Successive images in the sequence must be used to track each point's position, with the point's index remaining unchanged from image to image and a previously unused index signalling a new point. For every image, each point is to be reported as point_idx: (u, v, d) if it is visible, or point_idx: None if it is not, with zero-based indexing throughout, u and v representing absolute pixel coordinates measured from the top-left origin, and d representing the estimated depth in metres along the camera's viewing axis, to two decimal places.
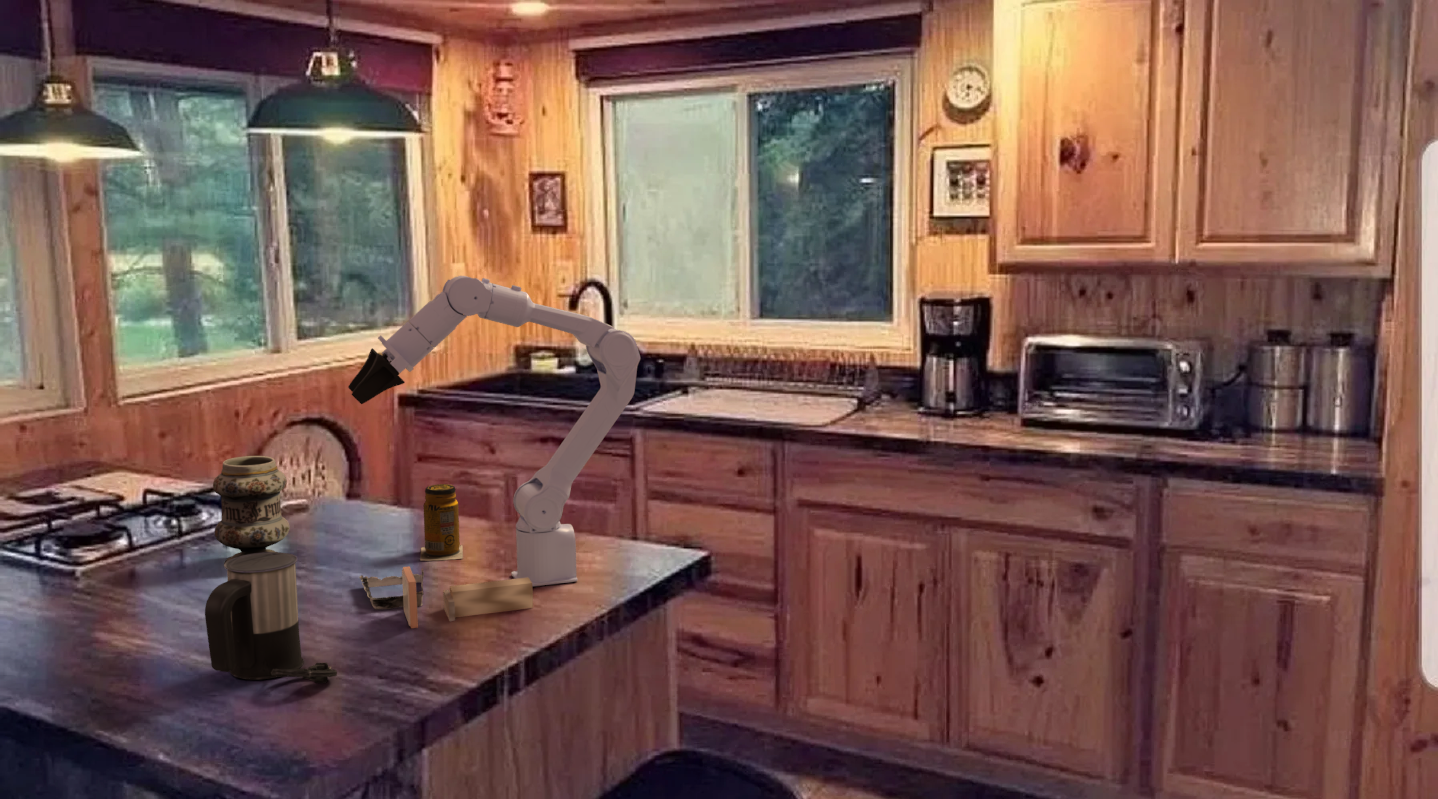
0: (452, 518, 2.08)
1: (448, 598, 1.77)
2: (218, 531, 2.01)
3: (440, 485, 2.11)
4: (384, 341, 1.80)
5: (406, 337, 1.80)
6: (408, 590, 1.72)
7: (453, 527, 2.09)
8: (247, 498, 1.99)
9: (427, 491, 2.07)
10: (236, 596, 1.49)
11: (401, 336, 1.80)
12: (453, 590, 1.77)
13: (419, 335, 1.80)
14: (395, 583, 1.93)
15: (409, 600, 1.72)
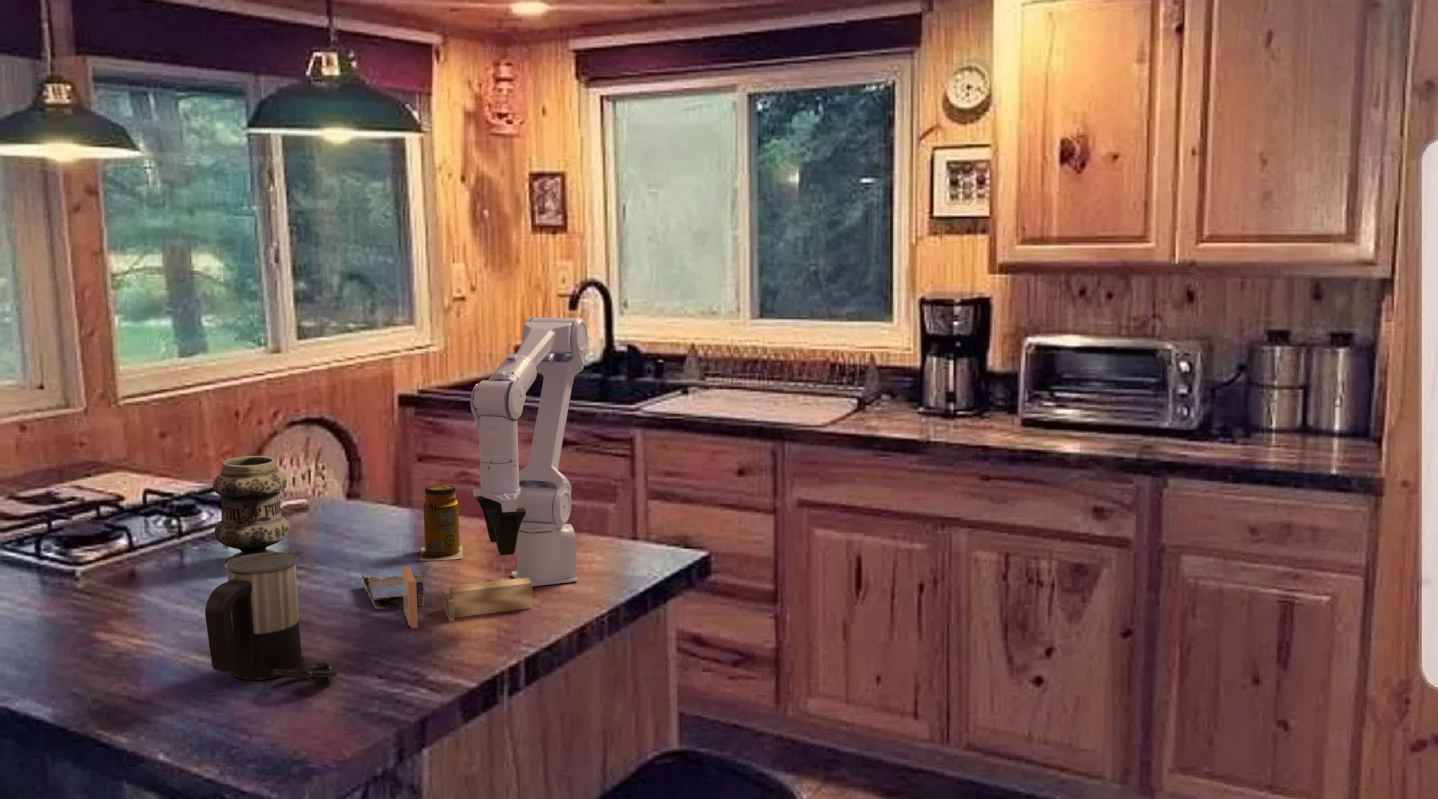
0: (452, 518, 2.08)
1: (448, 598, 1.77)
2: (218, 531, 2.01)
3: (440, 485, 2.11)
4: (480, 493, 1.76)
5: (492, 476, 1.75)
6: (408, 590, 1.72)
7: (453, 527, 2.09)
8: (247, 498, 1.99)
9: (427, 491, 2.07)
10: (236, 596, 1.49)
11: (487, 478, 1.76)
12: (453, 590, 1.77)
13: (499, 465, 1.75)
14: (396, 583, 1.93)
15: (409, 600, 1.72)
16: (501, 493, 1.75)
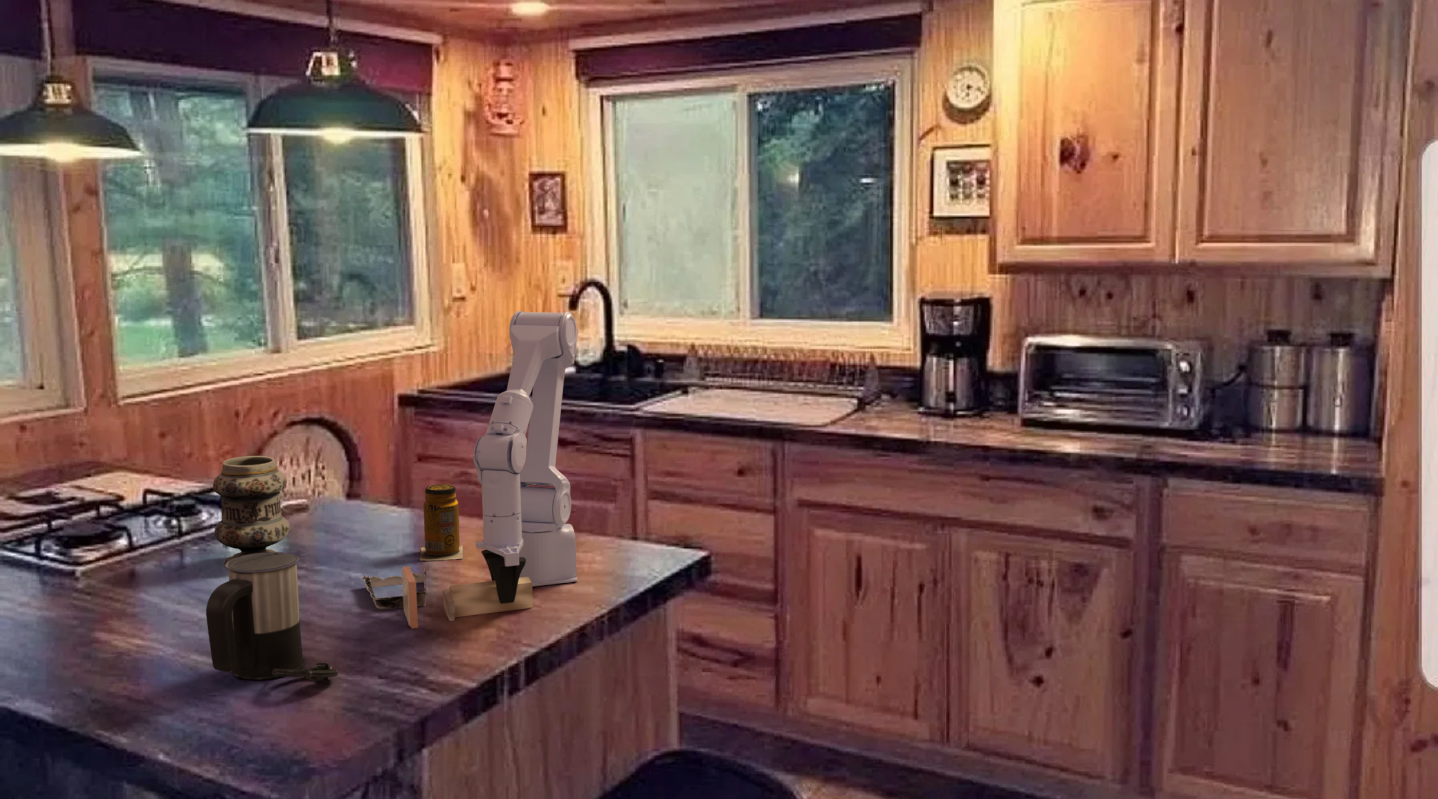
0: (452, 518, 2.08)
1: (448, 597, 1.77)
2: (218, 531, 2.01)
3: (440, 485, 2.11)
4: (483, 546, 1.78)
5: (494, 529, 1.77)
6: (408, 590, 1.72)
7: (453, 527, 2.09)
8: (247, 498, 1.99)
9: (427, 491, 2.07)
10: (237, 596, 1.49)
11: (490, 531, 1.77)
12: (453, 589, 1.77)
13: (502, 519, 1.76)
14: (397, 583, 1.93)
15: (409, 600, 1.72)
16: (504, 546, 1.77)
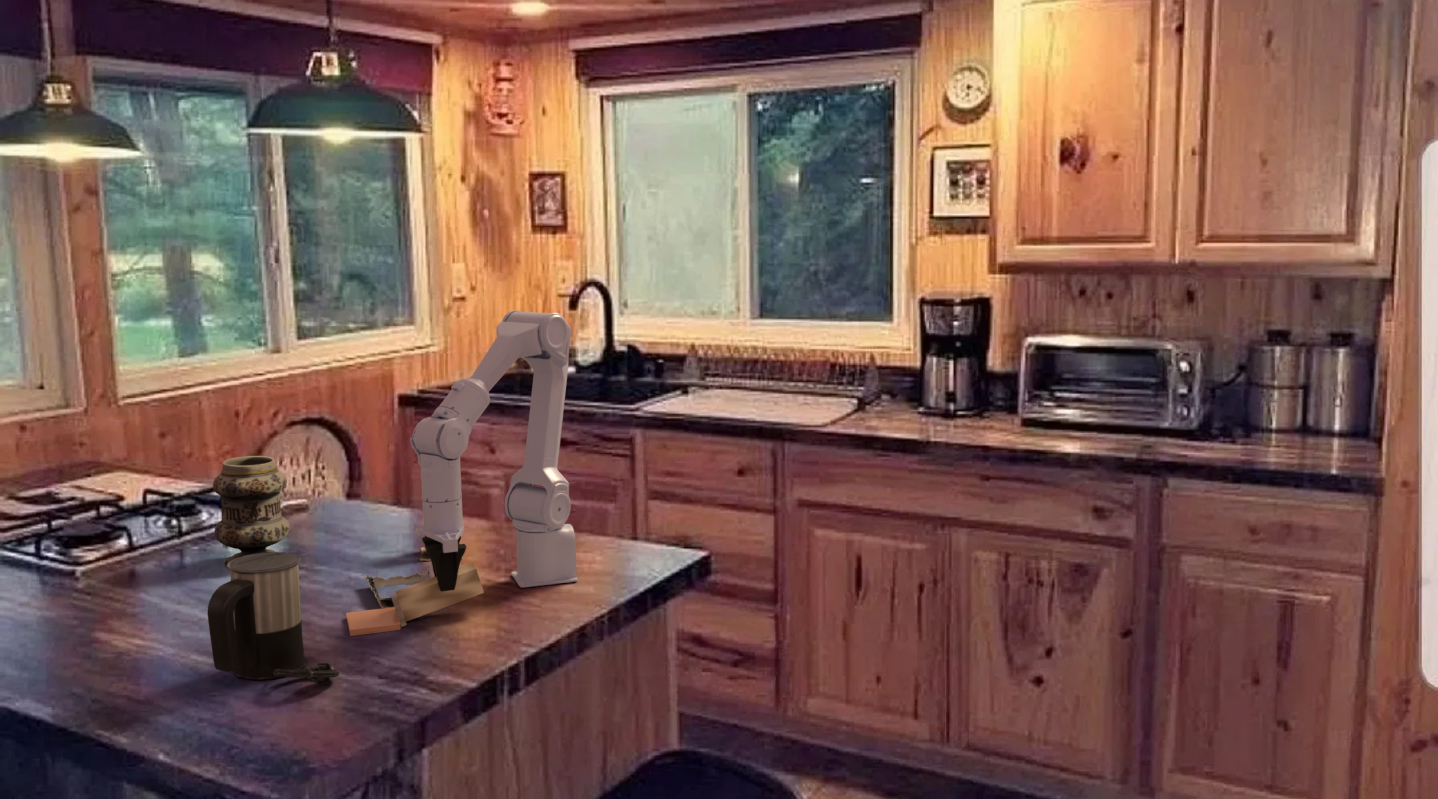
0: None
1: (395, 604, 1.74)
2: (218, 531, 2.01)
3: None
4: (422, 532, 1.74)
5: (433, 515, 1.73)
6: None
7: None
8: (247, 498, 1.99)
9: None
10: (239, 596, 1.50)
11: (429, 517, 1.73)
12: (398, 595, 1.74)
13: (441, 504, 1.73)
14: (401, 583, 1.93)
15: None
16: (443, 532, 1.73)
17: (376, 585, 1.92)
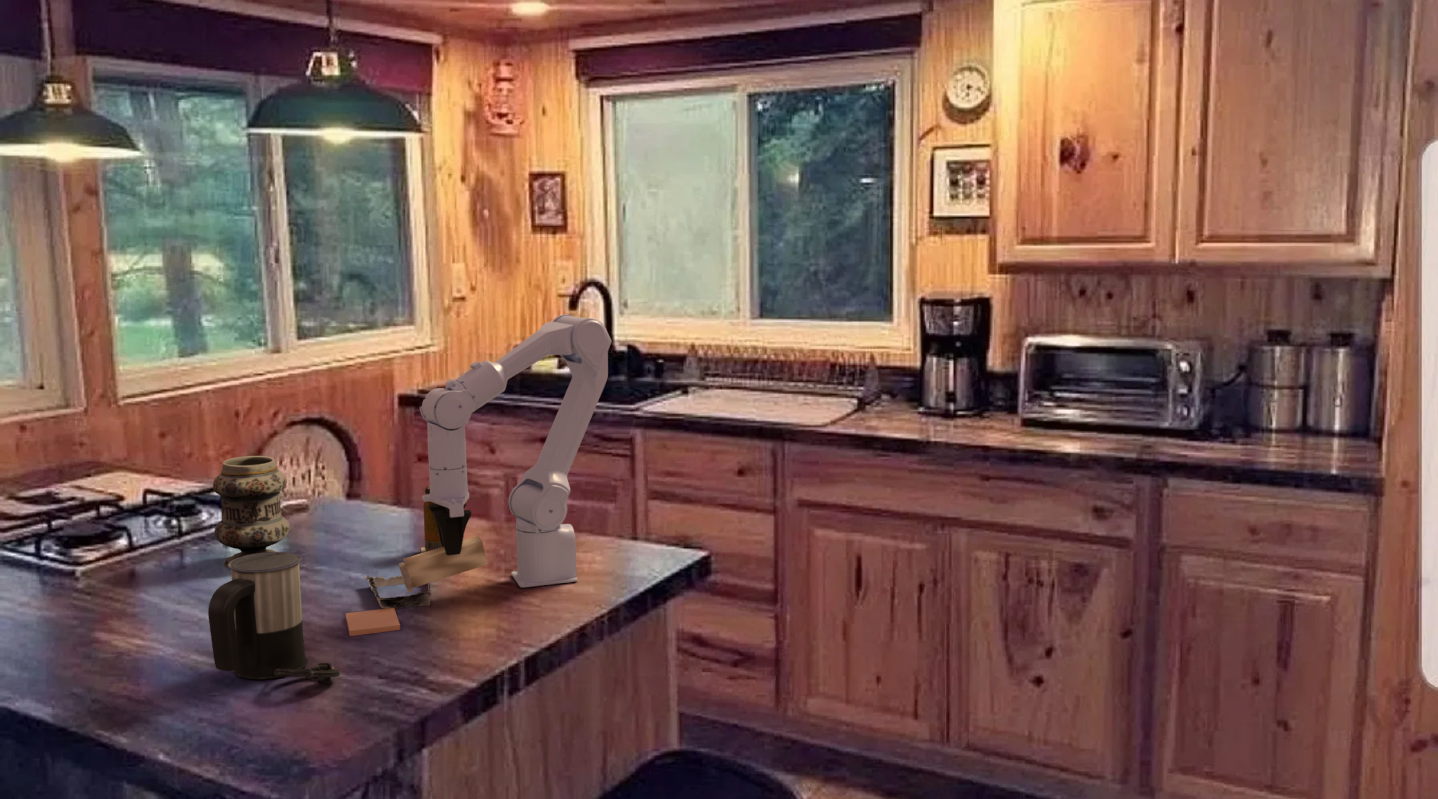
0: None
1: (403, 570, 1.82)
2: (218, 531, 2.01)
3: None
4: (429, 499, 1.82)
5: (440, 482, 1.81)
6: None
7: None
8: (247, 498, 1.99)
9: (427, 491, 2.07)
10: (239, 596, 1.50)
11: (436, 484, 1.81)
12: (406, 562, 1.82)
13: (447, 472, 1.81)
14: (401, 583, 1.93)
15: None
16: (449, 498, 1.81)
17: (376, 585, 1.92)
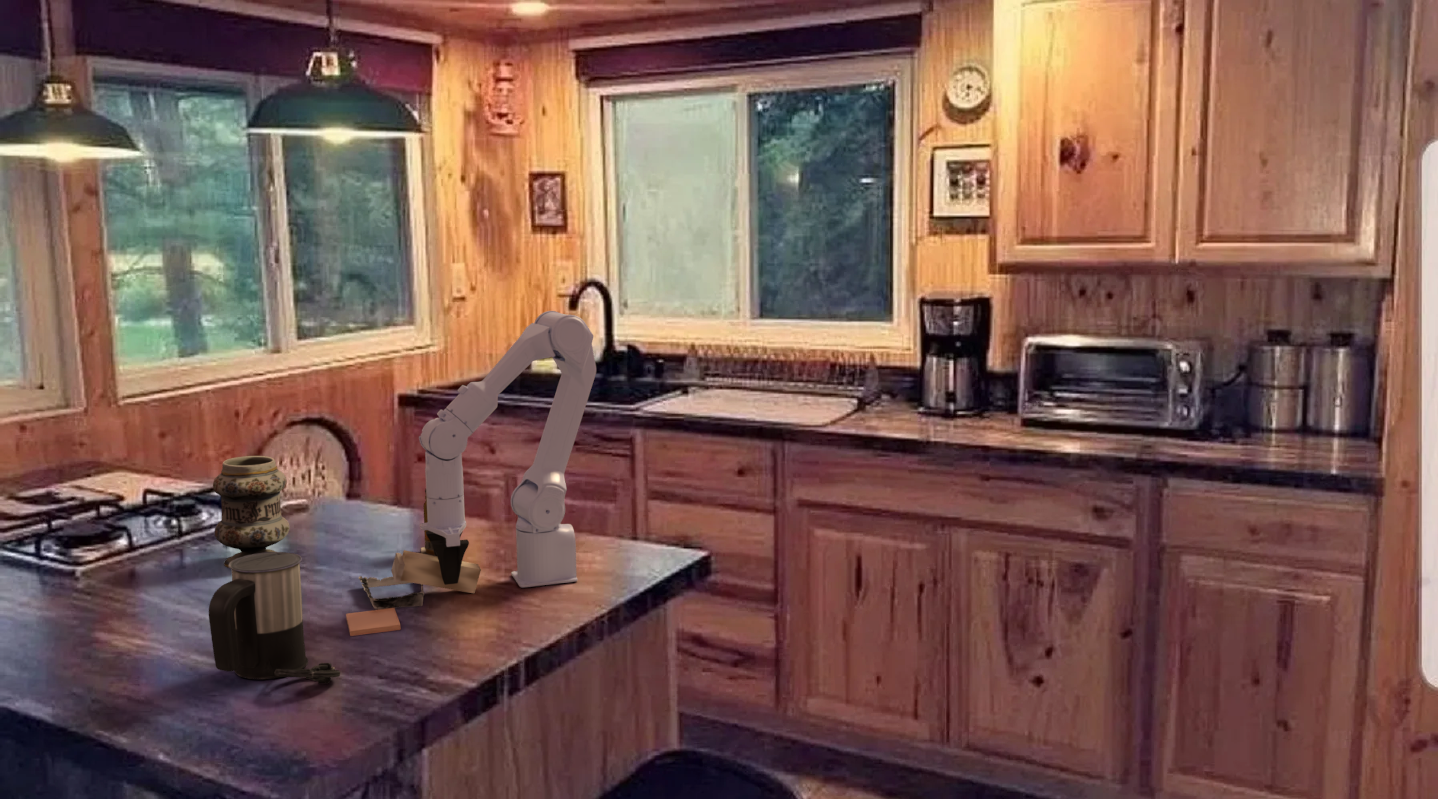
0: None
1: (399, 560, 1.83)
2: (218, 531, 2.01)
3: None
4: (426, 527, 1.84)
5: (437, 511, 1.83)
6: None
7: None
8: (247, 498, 1.99)
9: None
10: (240, 596, 1.50)
11: (433, 513, 1.83)
12: (406, 554, 1.84)
13: (444, 501, 1.83)
14: (394, 584, 1.93)
15: None
16: (446, 527, 1.83)
17: (369, 586, 1.92)
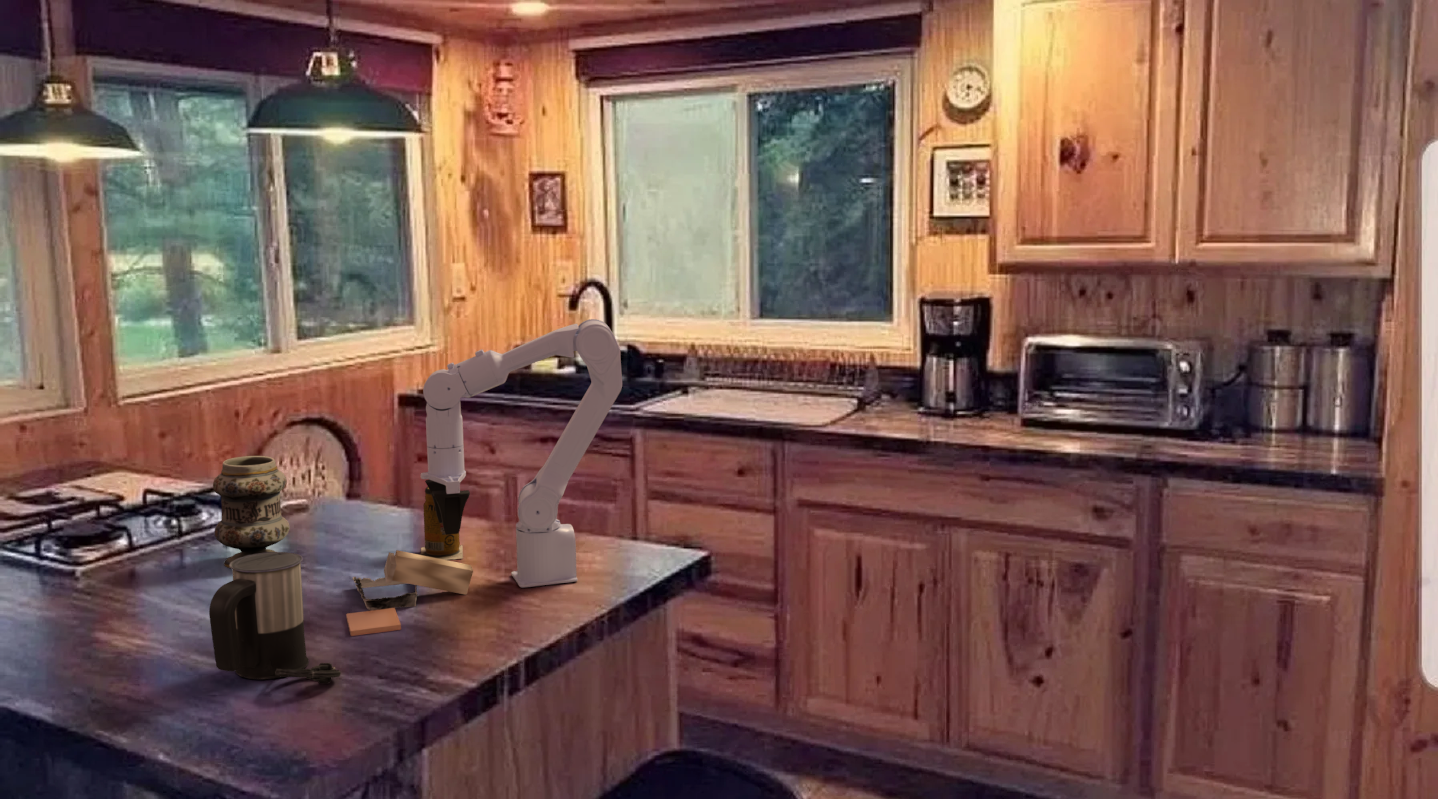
0: None
1: (391, 560, 1.83)
2: (218, 531, 2.01)
3: None
4: (427, 476, 1.88)
5: (437, 460, 1.87)
6: None
7: None
8: (247, 498, 1.99)
9: (427, 491, 2.07)
10: (240, 596, 1.50)
11: (433, 462, 1.87)
12: (398, 554, 1.84)
13: (444, 450, 1.87)
14: (388, 584, 1.93)
15: None
16: (446, 476, 1.87)
17: (363, 586, 1.91)
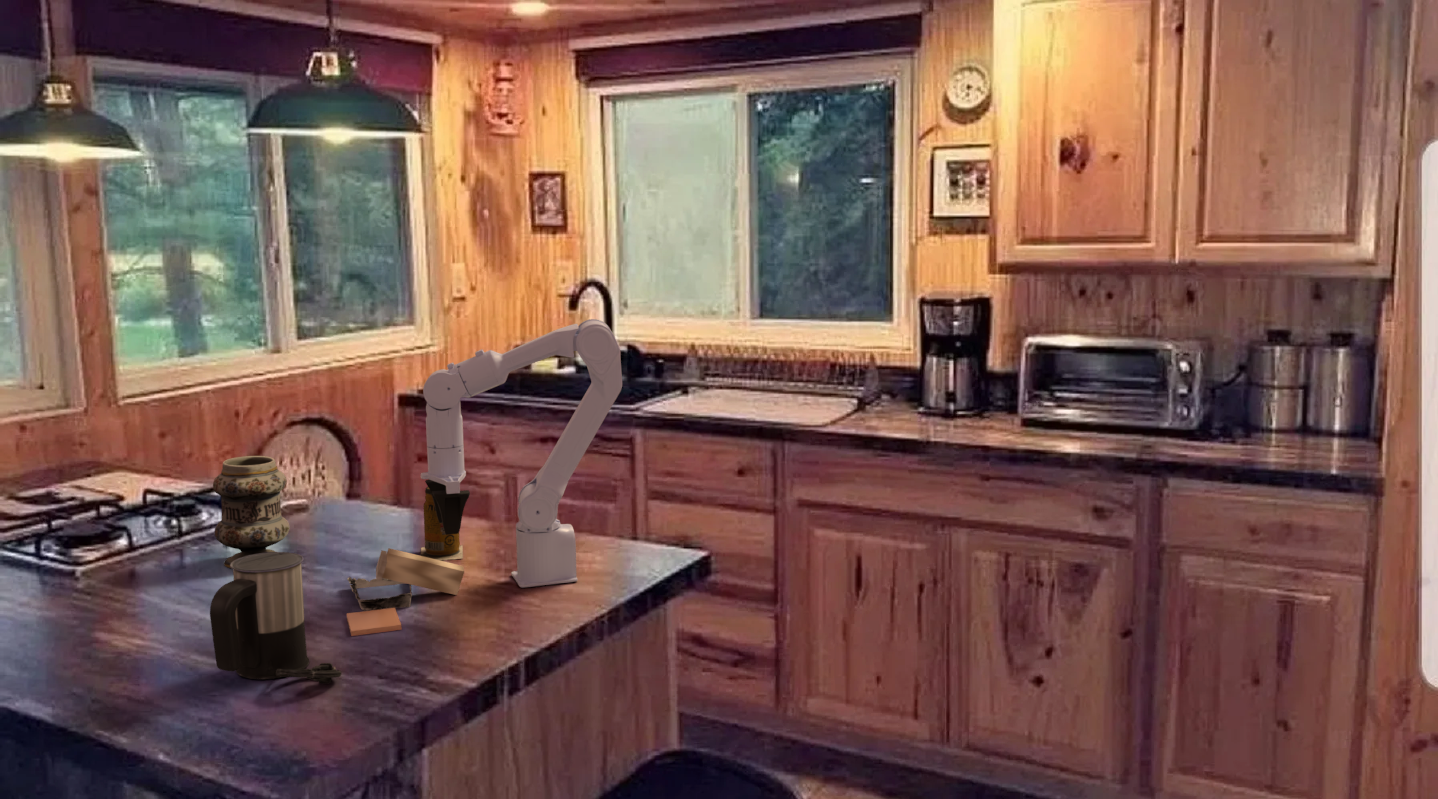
0: None
1: (383, 558, 1.83)
2: (218, 531, 2.01)
3: None
4: (427, 476, 1.88)
5: (437, 460, 1.87)
6: None
7: None
8: (247, 498, 1.99)
9: (427, 491, 2.07)
10: (241, 596, 1.50)
11: (433, 462, 1.87)
12: (390, 552, 1.84)
13: (444, 450, 1.87)
14: (383, 585, 1.92)
15: None
16: (446, 476, 1.87)
17: (358, 587, 1.91)
